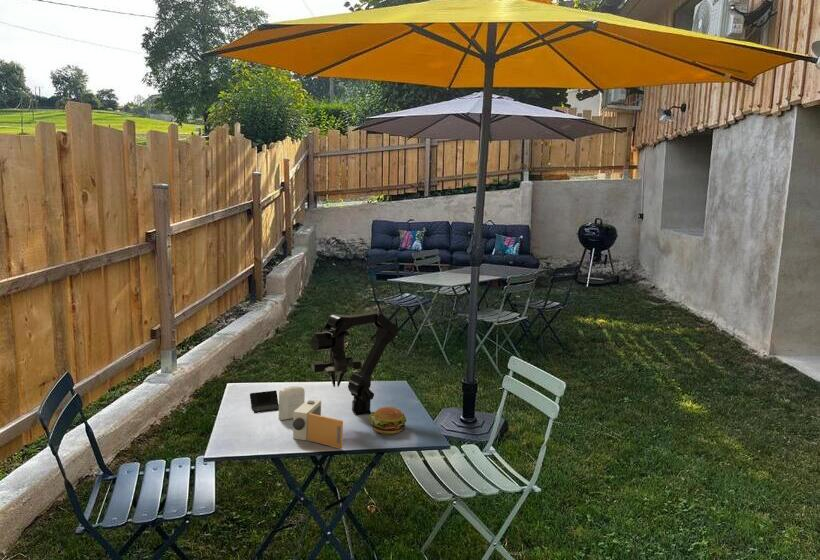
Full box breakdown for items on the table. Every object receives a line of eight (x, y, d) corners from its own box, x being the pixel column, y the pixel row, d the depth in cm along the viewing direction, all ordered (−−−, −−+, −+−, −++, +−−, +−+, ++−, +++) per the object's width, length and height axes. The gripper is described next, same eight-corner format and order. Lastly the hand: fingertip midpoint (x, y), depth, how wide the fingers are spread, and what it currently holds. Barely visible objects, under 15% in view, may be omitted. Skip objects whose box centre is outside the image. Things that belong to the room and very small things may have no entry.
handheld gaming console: (256, 411, 242) (254, 387, 246) (250, 417, 247) (247, 393, 251) (284, 410, 249) (280, 386, 253) (276, 416, 254) (274, 393, 258)
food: (364, 423, 239) (365, 403, 237) (400, 421, 242) (401, 401, 241) (372, 437, 226) (373, 416, 224) (409, 434, 229) (410, 414, 228)
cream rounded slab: (301, 413, 246) (301, 383, 244) (305, 416, 242) (306, 386, 241) (276, 417, 240) (277, 387, 238) (281, 421, 237) (281, 390, 235)
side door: (342, 447, 215) (342, 420, 213) (340, 449, 213) (341, 421, 212) (307, 438, 221) (308, 412, 219) (305, 440, 220) (306, 413, 218)
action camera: (308, 424, 235) (308, 397, 233) (320, 425, 234) (321, 398, 232) (291, 439, 220) (291, 411, 218) (304, 441, 219) (305, 413, 217)
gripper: (318, 354, 227) (317, 395, 229) (366, 351, 234) (365, 391, 236) (311, 346, 237) (310, 386, 239) (358, 344, 244) (356, 382, 246)
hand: (336, 386), depth 240 cm, fingers closed
